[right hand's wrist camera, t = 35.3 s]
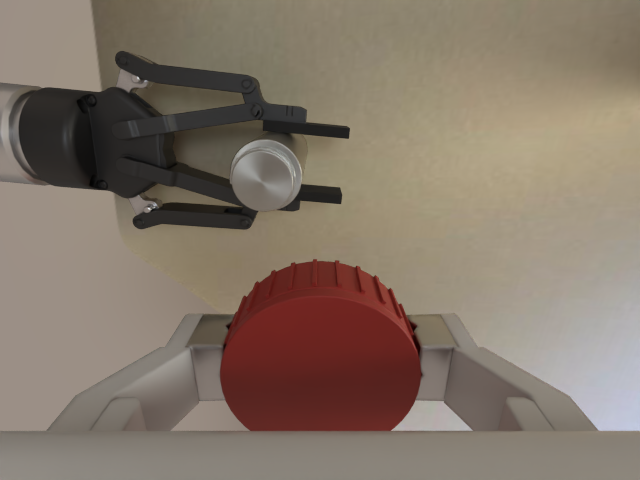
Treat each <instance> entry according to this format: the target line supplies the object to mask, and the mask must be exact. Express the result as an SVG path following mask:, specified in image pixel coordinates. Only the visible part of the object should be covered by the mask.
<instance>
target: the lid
mask: <svg viewBox="0 0 640 480" xmlns="http://www.w3.org/2000/svg"><path fill="white" fill-rule="evenodd" d="M413 335H414V333H413V331H412V328H411V326H410V323H409V321H408V319H407V316H406V314H405V311H404V309H403V306H402V304H399V305H398V302H397V301H396V298H395V296H394V293H393V290H392V289H391V288H390V289H387V288H386V287H385V286H384V285H383V284H382V283H381V282H380V281H379V278H378V277H377V276H376V275H375V276H374V277H373V276H371V275H370V274H368V273H366V272H364V271H362V270H361V269H360V267H359V266H356V268H355V267H352V266H349V265H346V264H341V263H339V261H337V260H335V262H325V261H317V259H313V262H306V263H300V264H295V262H294V263H291V266H289V267H286V268H284V269H281V270H279V271H277V272H276V271H275V270H274V271H272V272H271V275H270V276H268V277H266V278H265V279H264V280H263V281H261V282H260V283H259V282H258V281H257V282H256V283H255V285H254V288H253V290H252V291H251V292H250V293H249V295H248V296H247V297H246V296H244V297H243V299H242V301H241V304H240V306H239V309H238V311H237V312H236V313H235V316H234V318H233V321H232V323H231V326H230V328H229V331H228V333H227V336H226V338H225V341H224V342H225V344H227V345H226V347H225V350H224V353H223V356H222V359H221V366H220V382H221V387H222V392H223V395H224V397H225V400H226V402H227V404H228V406H229V408H230V410H231V411H232V412H233V414H234V415H235V416H236V418H237V419H238V420H239V421H240V422H241V423H242V424H243V425H244V426H245V427H246V428H248V429H249V430H250V431H391V430H392V429H393V428H395V427H396V426H397V425H398V424H399V423H400V422H401V421H402V420H403V419H404V417H405V416H406V415H407V414H408V412H409V411H410V409H411V408H412V406H413V404H414V402H415V400H416V397H417V395H418V392H419V387H420V383H421V365H420V360H419V356H418V349H417V347H416V345H415V342H414V340H413Z"/></svg>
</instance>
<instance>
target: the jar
mask: <svg viewBox="0 0 640 480" xmlns="http://www.w3.org/2000/svg"><path fill="white" fill-rule="evenodd" d="M306 157H307V143H306V141H305V139H304V137H303V135H302V134H294V133H283V132H273V131H269V132H267V133H265V134H263V135H262V136H260V137H258V138H256V139H254V140H253V141H251V142H249V143H247V144H246V145H244V146H243V147H242V148H241V149H240V150H239V151H238V152H237V153H236V155H235V156H234V158H233V161H232V164H231V169H230V184H232V187H233V190H234V193H235V195H236V196H237V198H238V199H239V200H240V201H241V202H242V203H243V204H244V205H245V206H247V207H249V208H251V209H253V210H256V211H272V210H277V209H280V208H283V207H285V206H287V205H288V204H289V203H291V202H292V201H293V200H294V198H295V197H296V196H297V194H298V192H299V190H300V187H301V183H302V178H303V173H304V168H305V163H306Z"/></svg>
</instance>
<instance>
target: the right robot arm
mask: <svg viewBox="0 0 640 480" xmlns="http://www.w3.org/2000/svg"><path fill="white" fill-rule="evenodd" d="M234 316H235V314H187V315H186V316H185V317H184V318H183V320H182V322H181V323H180V325H179V326H178V328H177V329H176V331H175V332H174V334H173V336H172V337H171V339H170V340H169V342H168V343H167V345H166V347H160V348H158V349H156V350H154V351H153V352H151V353H149V354H148V355H146V356H144V357H142V358H140V359H139V360H137V361H135V362H134V363H132V364H130V365H128V366H127V367H125V368H123V369H121V370H120V371H118V372H116V373H114V374H113V375H111V376H109V377H107V378H106V379H104V380H102V381H100V382H99V383H97V384H95V385H93V386H92V387H90V388H88V389H86V390H85V391H83V392H81V393H79V394H78V395H76V396H75V397H74V398H73V399H72V401H71V402H70V403H69V404H68V405H67V407H66V408H65V409H64V410H63V411H62V412H61V414H60V415H59V416H58V417H57V418H56V420H55V421H54V422H53V423H52V424H51V426H50V427H49V428H48V429H47V430H46V431H0V480H640V431H598V429H597V428H596V427H595V426H594V425H593V423H592V422H591V421H590V420H589V419H588V418H587V416H586V415H585V414H584V413H583V412H582V410H581V409H580V408H579V407H578V406H577V405H576V403H575V402H574V401H573V400H572V399H571V397H570V396H568V395H566V394H565V393H563V392H561V391H559V390H558V389H556V388H554V387H552V386H551V385H549V384H547V383H545V382H544V381H542V380H540V379H538V378H537V377H535V376H533V375H531V374H530V373H528V372H526V371H524V370H523V369H521V368H519V367H517V366H515V365H514V364H512V363H510V362H508V361H507V360H505V359H503V358H501V357H500V356H498V355H496V354H494V353H493V352H491V351H489V350H487V349H486V348H484V347H478V346H477V344H476V343H475V341H474V340H473V338H472V337H471V335H470V334H469V332H468V331H467V329H466V328H465V326H464V325H463V323H462V321H461V320H460V318H459V317H458V315H456V314H429V315H406V316H407V319H408V321H409V323H410V326H411V328H412V331H413V333H414V335H413V340H414V342H415V345H416V347H417V349H418V356H419V360H420V365H421V383H420V387H419V392H418V395H417V397H416V400H426V401H444V403H445V404H446V405H447V406H448V407H449V408H450V409H452V410H453V411H454V412H455V413H456V414H457V415H458V416H459V417H460V418H461V419H462V420H463V421H464V422H465V423H466V424H467V425H468V426H469V427H470V428H471V429H472V430H473V431H170V430H171V429H172V428H174V427H175V426H176V425H177V424H178V423H179V422H180V421H181V420H182V419H183V418H184V417H185V416H186V415H187V414H188V413H189V412H190V411H191V410H192V409H193V408H194V407H195V406H196V405H197V404H198V403H199V401H215V400H225V397H224V395H223V392H222V387H221V382H220V366H221V359H222V356H223V353H224V350H225V347H226V345H227V344H225V342H224V341H225V338H226V336H227V333H228V331H229V328H230V326H231V323H232V321H233V318H234Z"/></svg>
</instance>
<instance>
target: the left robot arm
mask: <svg viewBox="0 0 640 480" xmlns="http://www.w3.org/2000/svg"><path fill="white" fill-rule="evenodd" d="M115 61H116V64H117V65H118V67H120V68H121V69H120V73H119V77H118V81H117V85H116V87H110V88H108V89H106V90H104V91H102V92H91V91H81V90H71V89H61V88H41V87H37V86H27V85H18V84H8V83H0V181H3V182H14V183H24V184H35V185H54V186H60V187H71V188H83V189H94V190H108V191H111V192H114V193H116V194H118V195H119V196H121V197H124V198H128V199H129V201H130V203H131V205H132V207H133V209H134V211H135V213H136V215H137V216H135V217H134V218H133V224H134V226H135V227H137V228H138V229H145V228H148V227H152V226H155V225H159V224H172V225H187V226H201V227H216V228H230V229H248V228H250V227H251V225H252V223H253V221H254V220H255V218H256V215H257V213H258V211H256V210H253V209H251V208H249V207H247V206H245V205H244V204H243V203H242V202H241V201H240V200H239V199H238V198H237V196H236V195H235V193H234V190H233V187H232V184H230V180H229V179H226V178H223V177H219V176H216V175H213V174H210V173H207V172H203V171H200V170H197V169H194V168H191V167H189V166H188V165H186V164H183V163H180V162H177V161H176V157H175V154H174V151H173V142H174V132H175V131H182V130H189V129H196V128H203V127H210V126H217V125H223V124H230V123H237V122H244V121H251V120H263V131H273V132H283V133H294V134H304V135H315V136H326V137H336V138H347V139H349V132H350V128H349V127H347V126H339V125H328V124H318V123H307V122H306V116H307V110H306V109H304V108H302V107H297V106H287V105H277V104H269V103H267V102H266V101H265V100H264V99H263V97H262V94H261V90H260V85H259V82H258V80H257V79H255V78H253V77H251V76H248V75H242V74H233V73H225V72H216V71H208V70H199V69H190V68H182V67H173V66H165V65H158V64H156V63H154V62H152V61H150V60H148V59H146V58H144V57H142V56H139V55H136V54H132V53H128V52H124V51H120V52H118V53H117V54H116V56H115ZM154 82H155V83H162V84H169V85H177V86H186V87H195V88H204V89H212V90H221V91H230V92H239V93H242V95H243V98H244V101H245V104H241V105H234V106H227V107H220V108H213V109H207V110H200V111H193V112H186V113H179V114H172V115H164V116H163V115H161V114H160V113H159V112H158V111H156V110H155V109H154V108H153V107H151V106H150V105H149V104H148V103H147V102H145V101H144V100H143V99H142V98H140V97H139V96H138V95H137V94H135V92H136V90H137V89H139V88H144V89H148V88H151V87H152V85H153V83H154ZM158 183H160V184H163V185H166V186H175V187H180V188H183V189H186V190H190V191H193V192H196V193H199V194H203V195H206V196H209V197H212V198H216V199H219V200H222V201H226V202H229V203H232V204H235V205H239V206H242V207H231V206H217V205H203V204H190V203H165V204H162V201H161V200H159V199H157V198H149V197H147V196H146V195H145V193H144V192H145V191H147V190H148V189H150V188H151V187H153V186H154V185H156V184H158ZM341 200H342V193H341V190H340V188H338V187H327V186H316V185H305V184H301V187H300V190H299V192H298V194H297V196H296V197H295V198H294V200H293V201H292V202H291V203H289V204H288V205H287V206H285V207H283V208H280V209H277V210H283V211H296V210H299V208H300V201H311V202H323V203H334V204H341Z"/></svg>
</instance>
